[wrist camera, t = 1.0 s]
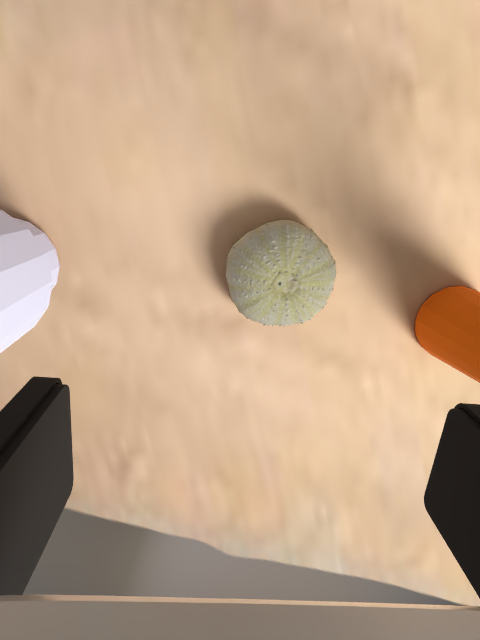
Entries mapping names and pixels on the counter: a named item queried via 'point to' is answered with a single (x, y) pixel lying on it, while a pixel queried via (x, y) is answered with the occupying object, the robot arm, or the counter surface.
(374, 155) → the counter surface
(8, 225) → the soap bottle
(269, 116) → the counter surface
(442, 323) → the spray bottle
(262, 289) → the sea urchin shell
